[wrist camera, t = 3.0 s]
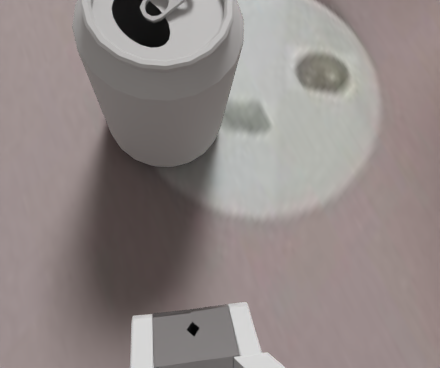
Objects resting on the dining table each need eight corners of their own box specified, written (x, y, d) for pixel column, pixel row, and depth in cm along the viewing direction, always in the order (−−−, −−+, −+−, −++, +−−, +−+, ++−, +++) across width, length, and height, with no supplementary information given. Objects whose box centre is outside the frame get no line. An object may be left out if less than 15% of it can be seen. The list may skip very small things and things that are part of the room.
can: (85, 113, 27) (21, -17, 16) (170, 49, 29) (166, -108, 18) (160, 194, 27) (149, 118, 15) (242, 123, 28) (288, 8, 17)
